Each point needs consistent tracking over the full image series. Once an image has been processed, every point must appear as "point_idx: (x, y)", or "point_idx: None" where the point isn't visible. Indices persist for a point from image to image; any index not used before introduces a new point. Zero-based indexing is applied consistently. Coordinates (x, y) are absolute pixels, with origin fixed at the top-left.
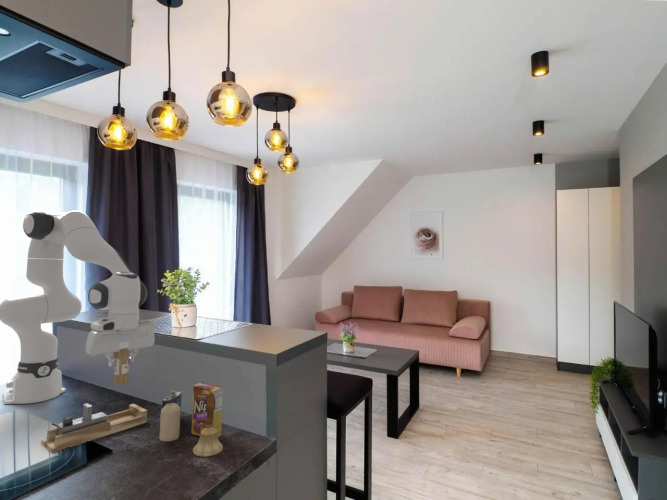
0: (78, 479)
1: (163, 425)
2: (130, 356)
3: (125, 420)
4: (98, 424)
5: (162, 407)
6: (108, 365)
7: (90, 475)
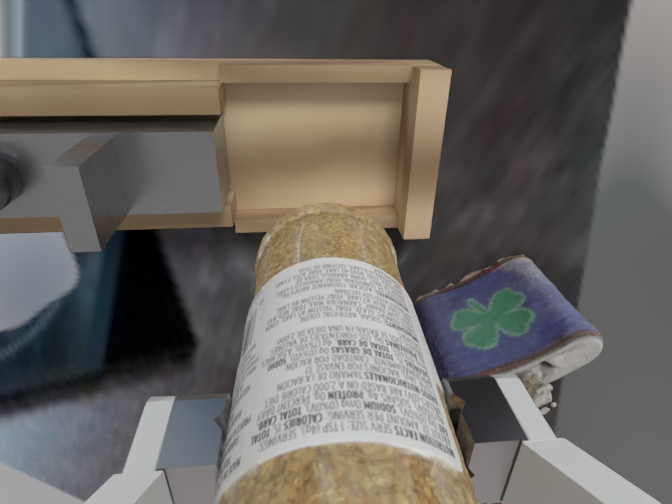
0: (63, 436)
1: None
2: (526, 467)
3: None
4: (172, 220)
5: (438, 372)
6: (148, 405)
7: (97, 436)
